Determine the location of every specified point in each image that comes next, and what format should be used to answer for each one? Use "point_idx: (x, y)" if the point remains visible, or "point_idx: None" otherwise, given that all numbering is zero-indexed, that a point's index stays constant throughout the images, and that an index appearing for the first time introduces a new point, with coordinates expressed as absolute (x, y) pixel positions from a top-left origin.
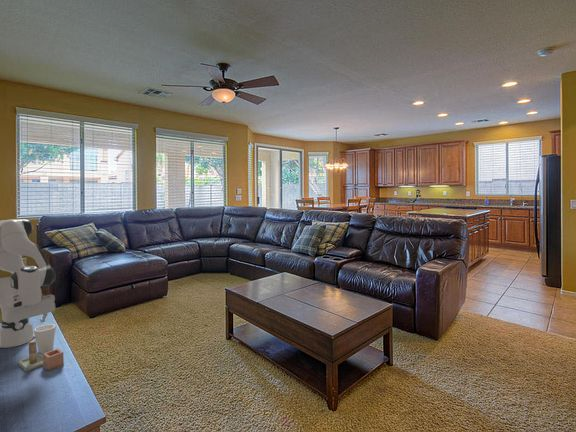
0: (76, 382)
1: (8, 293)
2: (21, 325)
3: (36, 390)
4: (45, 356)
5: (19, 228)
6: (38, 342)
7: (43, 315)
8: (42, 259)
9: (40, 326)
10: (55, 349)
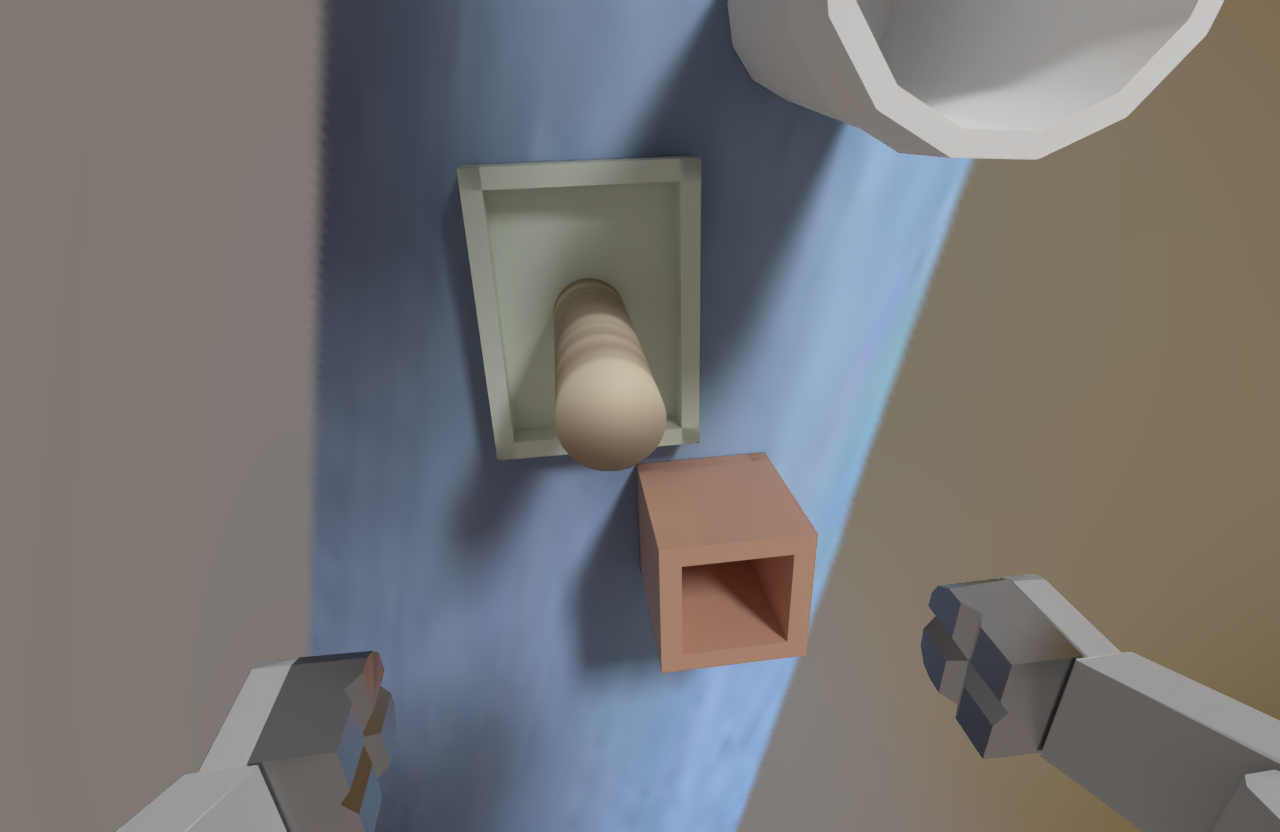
0: (705, 818)
1: None
2: (358, 829)
3: (497, 764)
4: (658, 600)
5: None
6: (764, 39)
7: (1216, 729)
8: None
9: None
10: (789, 541)
